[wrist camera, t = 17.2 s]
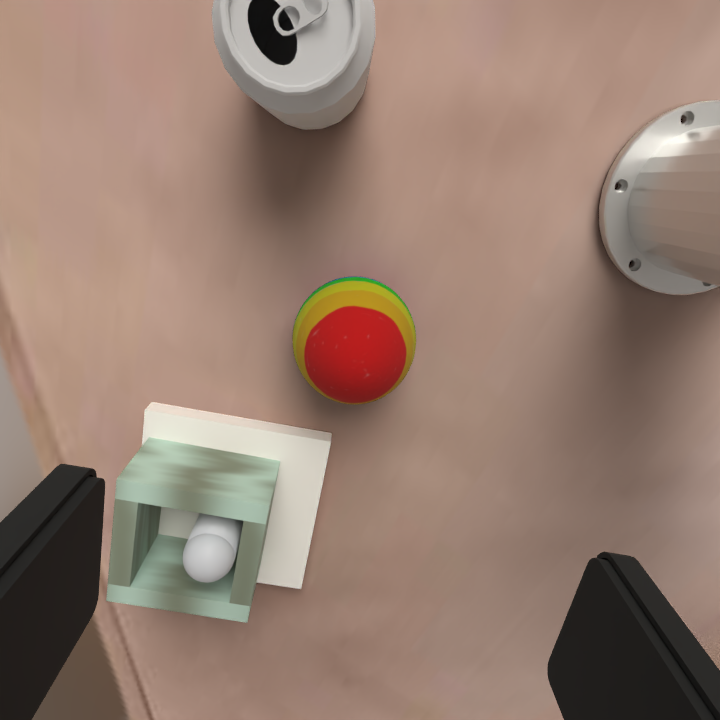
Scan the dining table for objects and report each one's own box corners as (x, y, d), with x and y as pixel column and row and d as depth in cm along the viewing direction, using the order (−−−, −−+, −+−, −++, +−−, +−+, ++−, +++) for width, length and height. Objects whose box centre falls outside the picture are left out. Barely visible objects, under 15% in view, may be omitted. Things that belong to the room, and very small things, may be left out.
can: (227, 41, 34) (166, -27, 23) (331, -27, 33) (321, -133, 22) (290, 153, 36) (262, 142, 25) (389, 93, 35) (408, 53, 24)
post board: (331, 433, 43) (326, 499, 34) (302, 576, 47) (291, 667, 38) (151, 401, 42) (99, 461, 33) (138, 551, 46) (89, 640, 37)
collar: (280, 460, 42) (269, 505, 36) (260, 566, 45) (247, 622, 39) (148, 437, 41) (116, 479, 35) (137, 546, 44) (106, 600, 38)
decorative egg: (366, 395, 42) (371, 459, 32) (276, 336, 40) (254, 385, 31) (431, 311, 40) (457, 353, 30) (340, 245, 38) (336, 268, 29)
